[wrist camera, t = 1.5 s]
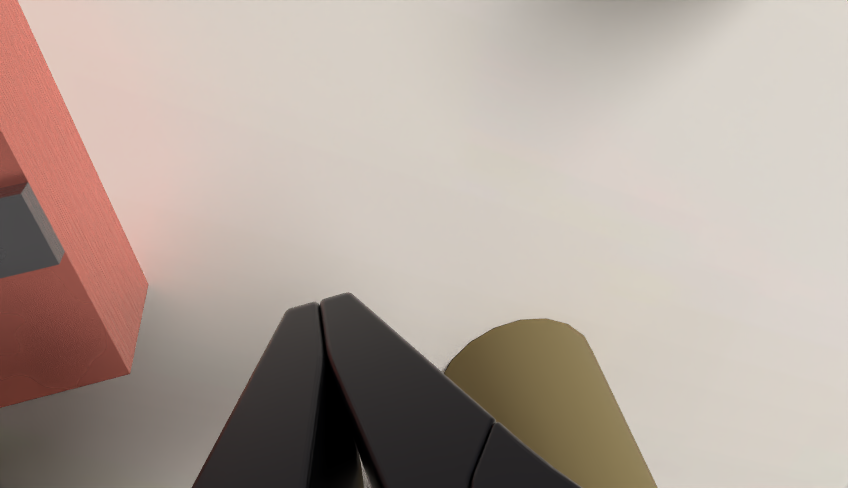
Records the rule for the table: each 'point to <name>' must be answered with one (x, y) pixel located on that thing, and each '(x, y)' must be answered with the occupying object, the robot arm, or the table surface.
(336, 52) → the table surface
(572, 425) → the olive tapered upright piece
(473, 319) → the table surface
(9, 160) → the block
